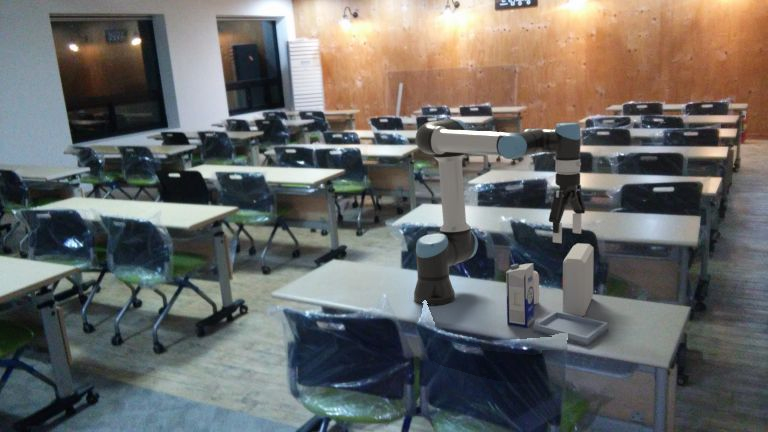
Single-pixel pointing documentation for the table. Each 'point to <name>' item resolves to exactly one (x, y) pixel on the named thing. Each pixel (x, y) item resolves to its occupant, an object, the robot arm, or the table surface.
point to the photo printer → (536, 287)
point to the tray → (571, 327)
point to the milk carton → (520, 295)
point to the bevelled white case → (578, 279)
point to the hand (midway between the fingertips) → (567, 237)
